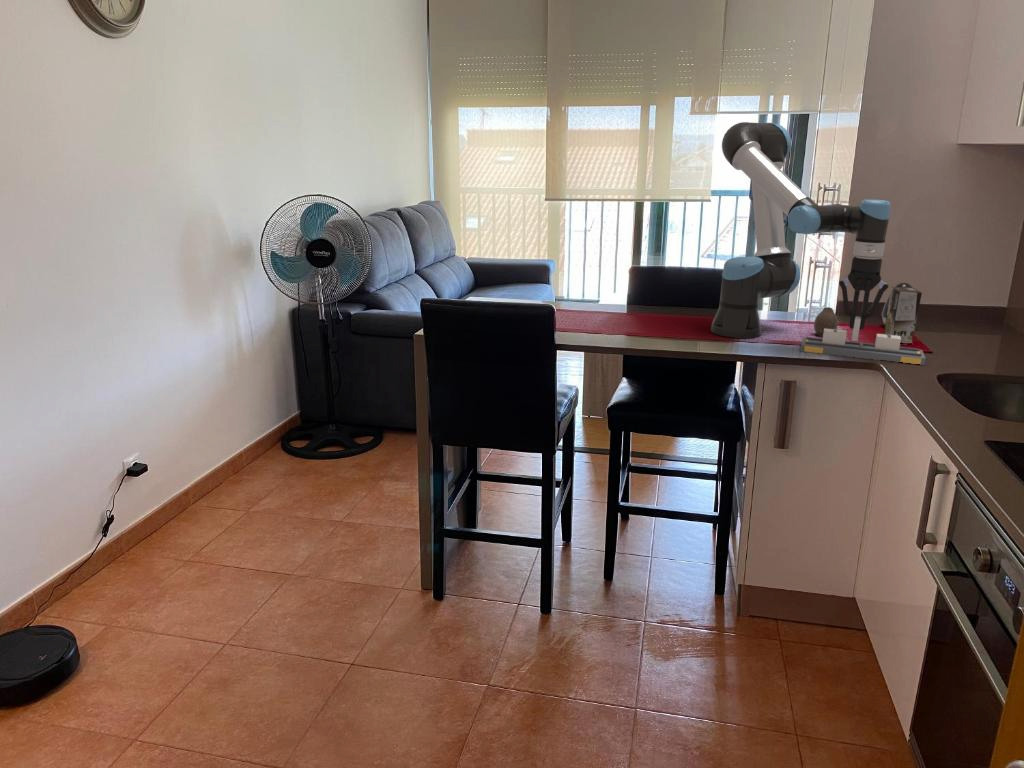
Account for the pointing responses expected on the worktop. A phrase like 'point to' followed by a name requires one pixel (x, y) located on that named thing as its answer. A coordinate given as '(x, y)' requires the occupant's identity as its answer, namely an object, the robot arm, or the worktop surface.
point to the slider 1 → (834, 336)
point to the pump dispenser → (885, 309)
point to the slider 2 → (887, 342)
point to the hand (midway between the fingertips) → (854, 339)
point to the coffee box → (902, 313)
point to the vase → (825, 321)
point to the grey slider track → (863, 351)
